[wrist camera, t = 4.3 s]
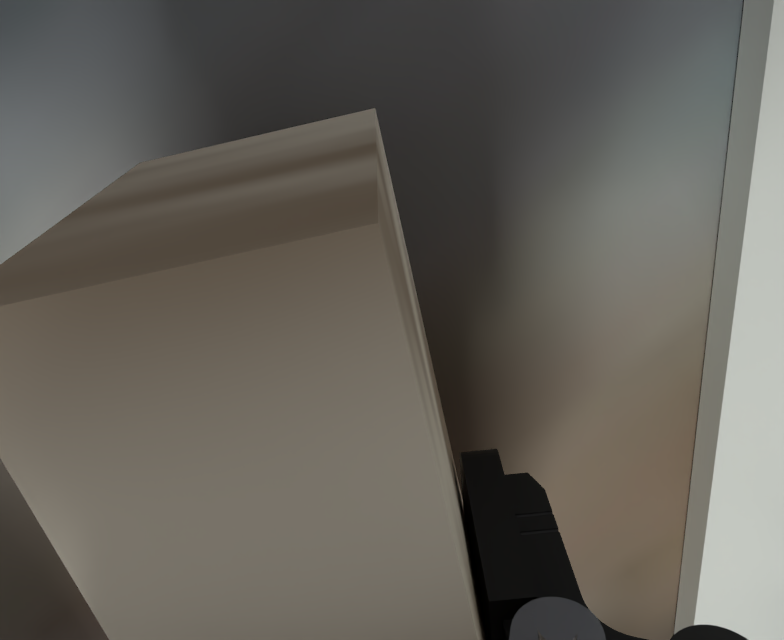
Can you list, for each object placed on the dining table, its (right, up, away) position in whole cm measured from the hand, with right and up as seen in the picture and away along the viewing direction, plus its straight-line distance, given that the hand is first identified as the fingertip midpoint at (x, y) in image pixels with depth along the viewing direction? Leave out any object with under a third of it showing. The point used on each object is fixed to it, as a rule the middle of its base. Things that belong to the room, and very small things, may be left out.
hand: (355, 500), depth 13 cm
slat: (0, 0, +1) cm, 1 cm away
